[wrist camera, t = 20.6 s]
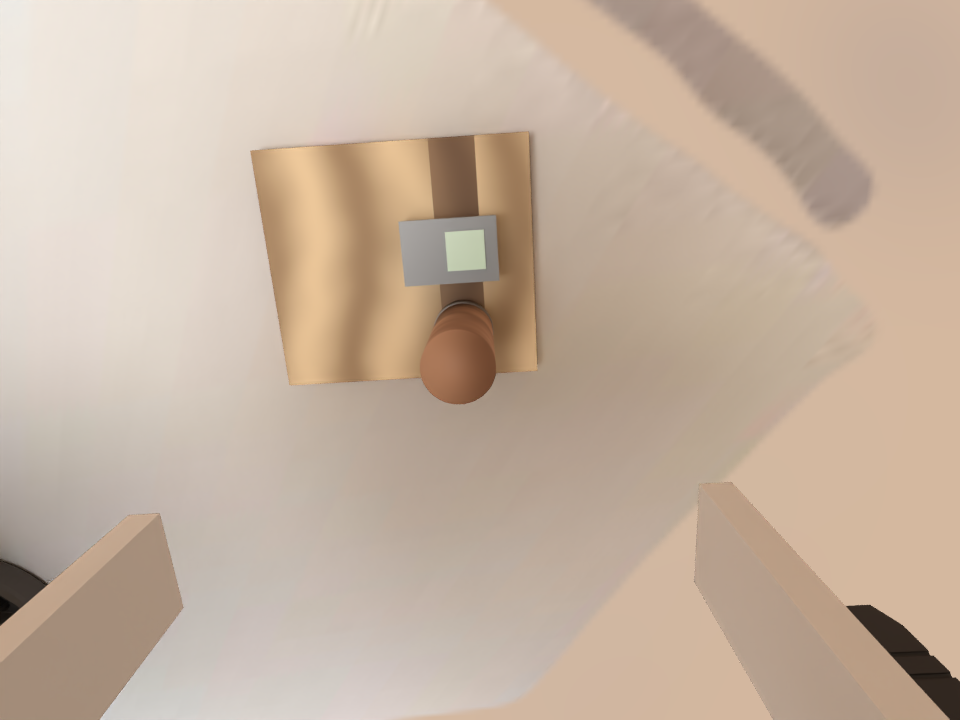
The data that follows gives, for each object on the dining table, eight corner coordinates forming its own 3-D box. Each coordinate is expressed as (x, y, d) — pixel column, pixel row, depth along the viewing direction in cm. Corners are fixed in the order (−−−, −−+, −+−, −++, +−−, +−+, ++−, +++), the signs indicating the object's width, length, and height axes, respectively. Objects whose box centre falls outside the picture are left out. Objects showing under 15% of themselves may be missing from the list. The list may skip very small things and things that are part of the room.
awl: (437, 357, 38) (422, 407, 29) (432, 300, 37) (415, 332, 28) (494, 354, 38) (498, 402, 29) (491, 297, 37) (494, 328, 27)
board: (295, 380, 40) (289, 385, 39) (257, 152, 36) (250, 150, 35) (535, 366, 40) (537, 370, 38) (527, 134, 35) (528, 131, 34)
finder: (410, 280, 37) (404, 287, 34) (405, 220, 36) (397, 221, 33) (498, 274, 37) (499, 281, 34) (494, 214, 36) (495, 215, 32)
